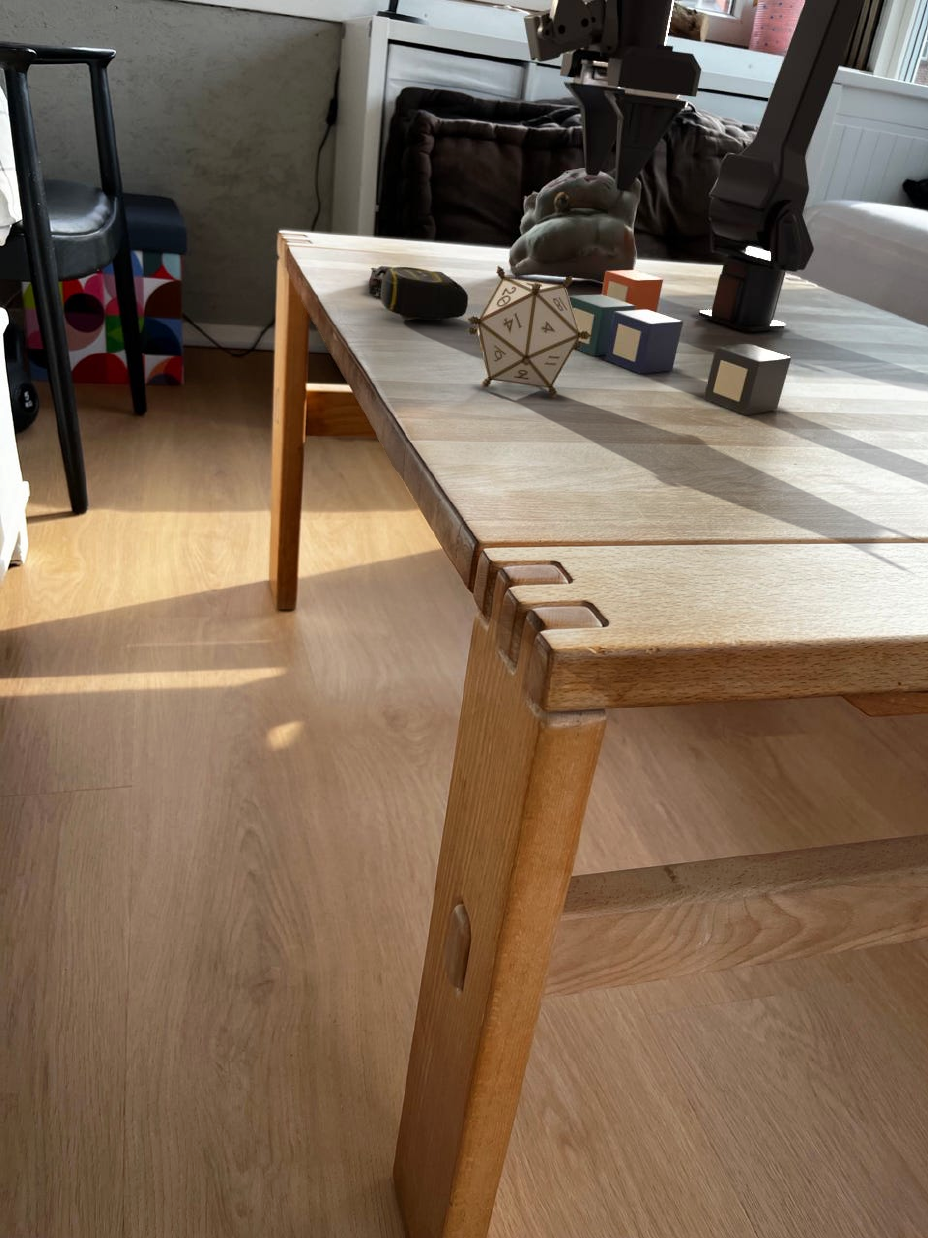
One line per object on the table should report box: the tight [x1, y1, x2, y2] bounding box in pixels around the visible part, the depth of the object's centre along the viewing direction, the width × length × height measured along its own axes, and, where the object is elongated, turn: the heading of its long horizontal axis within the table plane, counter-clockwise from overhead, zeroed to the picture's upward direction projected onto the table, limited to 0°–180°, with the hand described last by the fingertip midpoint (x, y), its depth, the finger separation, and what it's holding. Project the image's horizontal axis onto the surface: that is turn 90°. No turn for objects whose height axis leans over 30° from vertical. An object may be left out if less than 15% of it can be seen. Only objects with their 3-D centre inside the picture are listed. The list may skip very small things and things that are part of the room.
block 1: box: [568, 293, 635, 357], centre depth 87 cm, size 4×4×4 cm
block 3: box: [703, 343, 792, 416], centre depth 77 cm, size 4×4×4 cm
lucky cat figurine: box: [508, 167, 642, 284], centre depth 112 cm, size 15×12×14 cm
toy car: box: [368, 265, 395, 295], centre depth 97 cm, size 8×3×2 cm, turn 2°
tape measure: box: [380, 266, 469, 321], centre depth 88 cm, size 7×7×4 cm
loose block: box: [601, 269, 664, 313], centre depth 99 cm, size 4×4×4 cm
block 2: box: [604, 309, 684, 375], centre depth 83 cm, size 4×4×4 cm
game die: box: [466, 265, 591, 399], centre depth 72 cm, size 9×8×10 cm
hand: (606, 182), depth 87 cm, fingers open, 9 cm apart
